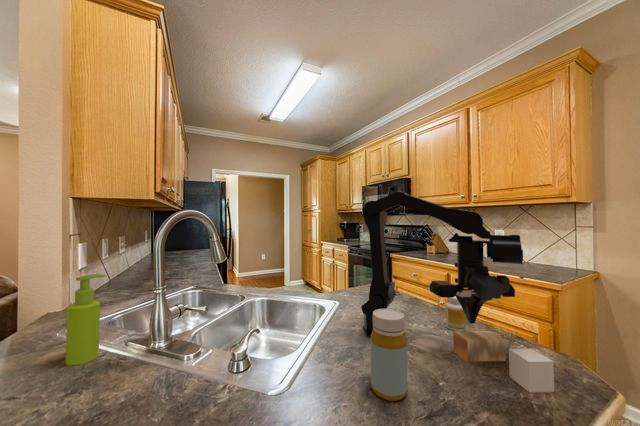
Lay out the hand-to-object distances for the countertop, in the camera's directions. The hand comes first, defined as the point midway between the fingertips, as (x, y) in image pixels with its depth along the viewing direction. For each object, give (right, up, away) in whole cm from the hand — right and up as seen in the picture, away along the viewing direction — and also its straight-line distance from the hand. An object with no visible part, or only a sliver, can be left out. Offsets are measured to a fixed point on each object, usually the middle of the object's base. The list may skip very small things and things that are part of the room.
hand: (471, 323), depth 63 cm
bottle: (-24, -8, -13) cm, 29 cm away
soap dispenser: (-96, -8, -1) cm, 96 cm away
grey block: (+6, -8, -11) cm, 15 cm away
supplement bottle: (+5, -9, +16) cm, 19 cm away
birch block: (-3, -6, 0) cm, 6 cm away
